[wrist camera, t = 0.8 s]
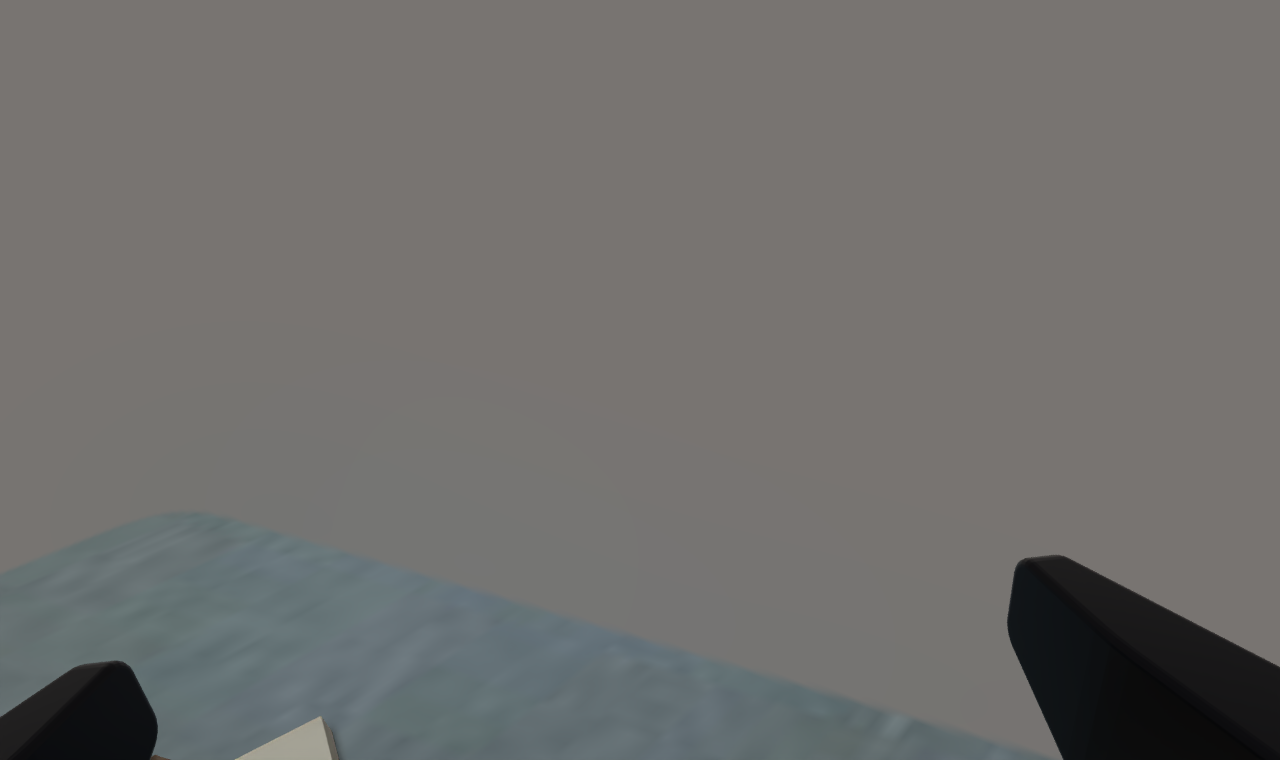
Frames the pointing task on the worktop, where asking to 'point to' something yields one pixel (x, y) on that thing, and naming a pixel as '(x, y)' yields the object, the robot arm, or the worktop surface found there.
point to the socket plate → (296, 745)
